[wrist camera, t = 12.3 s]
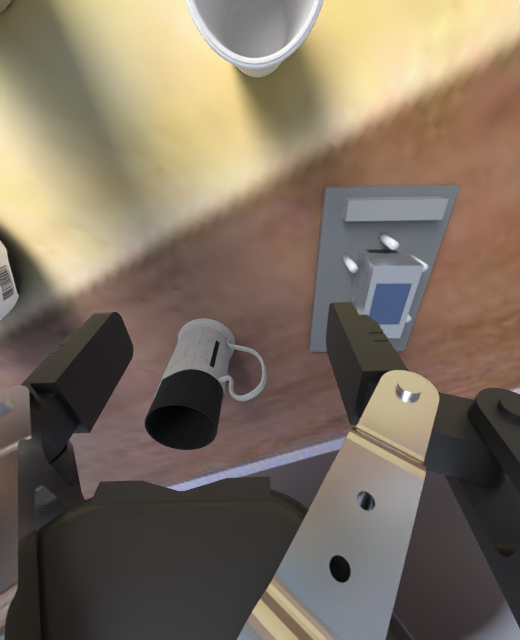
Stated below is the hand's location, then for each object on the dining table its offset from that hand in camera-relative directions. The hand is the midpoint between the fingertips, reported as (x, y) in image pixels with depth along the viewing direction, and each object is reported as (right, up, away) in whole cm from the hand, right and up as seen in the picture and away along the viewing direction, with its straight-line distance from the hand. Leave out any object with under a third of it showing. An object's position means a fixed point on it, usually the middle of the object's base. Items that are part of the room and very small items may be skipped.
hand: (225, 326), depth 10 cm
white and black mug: (-4, -2, +30) cm, 30 cm away
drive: (+16, +5, +24) cm, 29 cm away
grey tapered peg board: (+16, +6, +25) cm, 30 cm away
